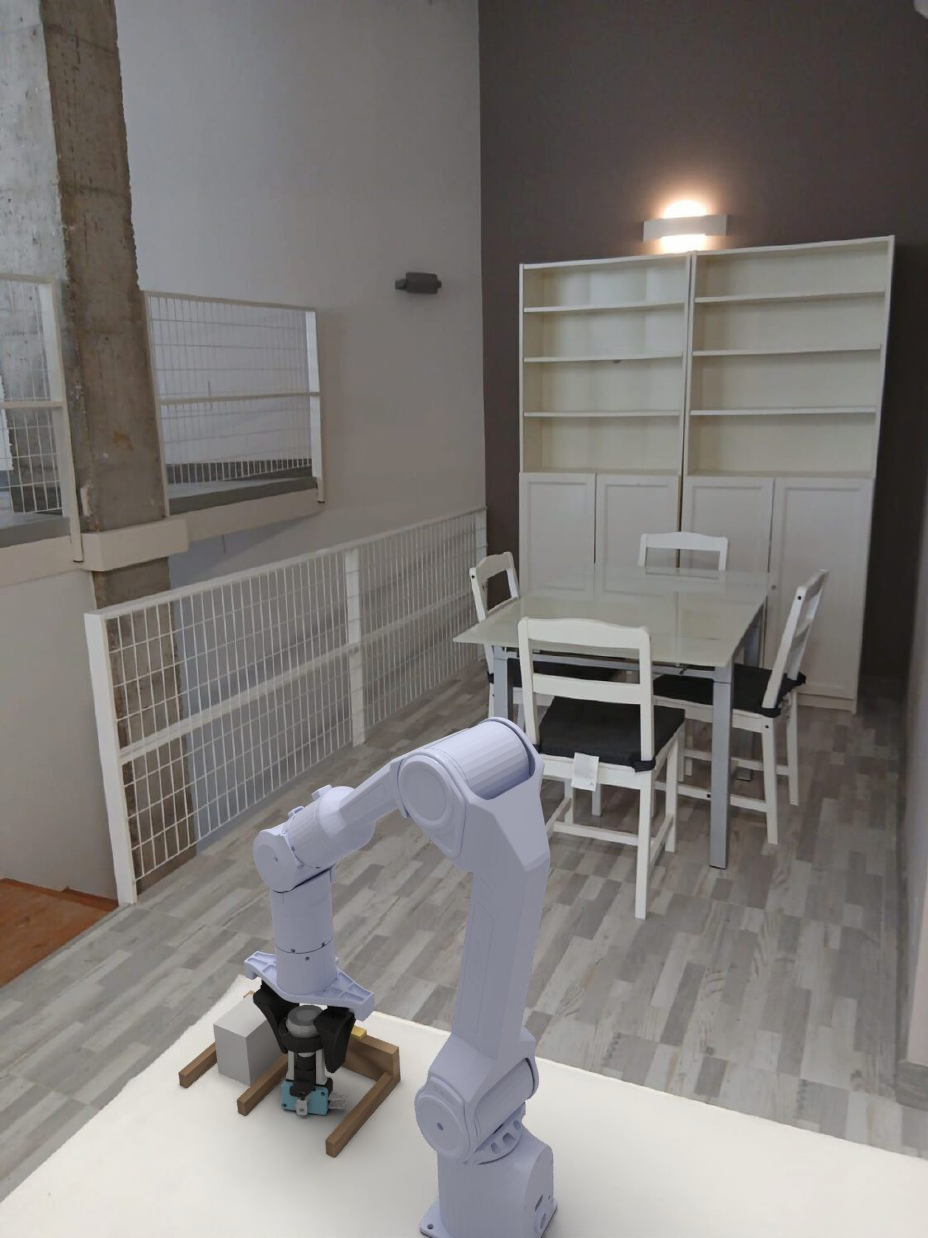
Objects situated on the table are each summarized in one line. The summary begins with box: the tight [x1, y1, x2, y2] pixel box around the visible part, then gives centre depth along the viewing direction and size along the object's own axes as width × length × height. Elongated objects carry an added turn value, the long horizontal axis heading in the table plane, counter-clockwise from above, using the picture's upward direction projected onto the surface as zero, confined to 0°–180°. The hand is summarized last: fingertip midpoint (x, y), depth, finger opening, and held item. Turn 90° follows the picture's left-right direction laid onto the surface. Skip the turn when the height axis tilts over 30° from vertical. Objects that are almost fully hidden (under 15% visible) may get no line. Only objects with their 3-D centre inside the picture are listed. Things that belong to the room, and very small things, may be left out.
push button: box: [279, 1004, 347, 1116], centre depth 91 cm, size 7×5×10 cm
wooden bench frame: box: [178, 990, 402, 1158], centre depth 95 cm, size 20×11×5 cm, turn 61°
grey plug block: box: [212, 994, 284, 1087], centre depth 98 cm, size 4×6×6 cm
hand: (313, 1057), depth 92 cm, fingers closed on push button, 5 cm apart
